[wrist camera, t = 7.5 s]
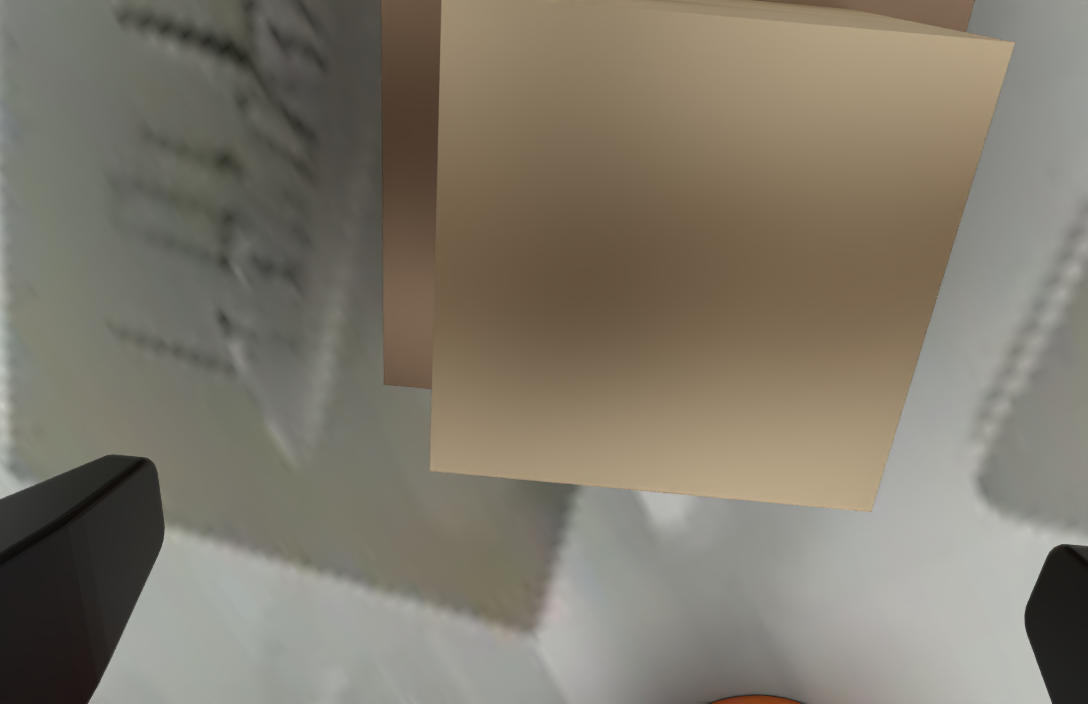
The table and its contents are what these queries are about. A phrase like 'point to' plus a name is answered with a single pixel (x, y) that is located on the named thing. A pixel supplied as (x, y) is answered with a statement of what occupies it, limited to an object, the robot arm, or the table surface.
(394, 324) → the walnut base
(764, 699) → the coffee cup
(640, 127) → the oak cube
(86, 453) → the table surface
